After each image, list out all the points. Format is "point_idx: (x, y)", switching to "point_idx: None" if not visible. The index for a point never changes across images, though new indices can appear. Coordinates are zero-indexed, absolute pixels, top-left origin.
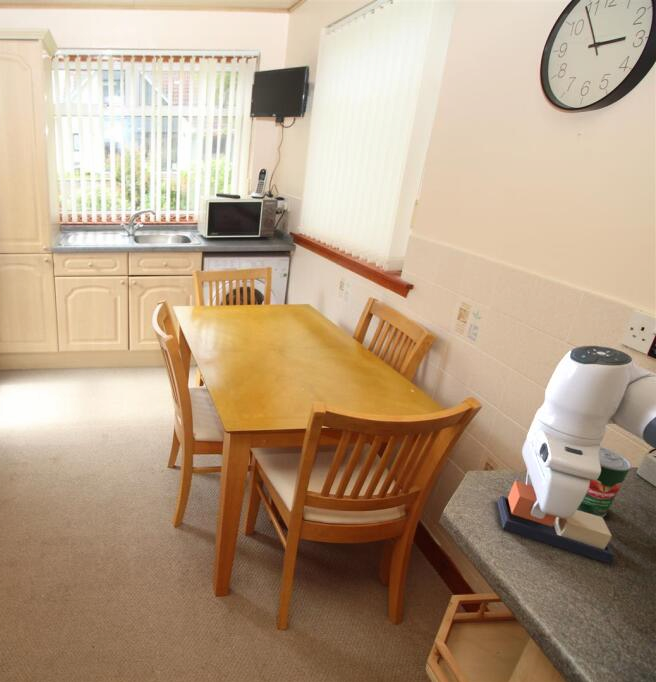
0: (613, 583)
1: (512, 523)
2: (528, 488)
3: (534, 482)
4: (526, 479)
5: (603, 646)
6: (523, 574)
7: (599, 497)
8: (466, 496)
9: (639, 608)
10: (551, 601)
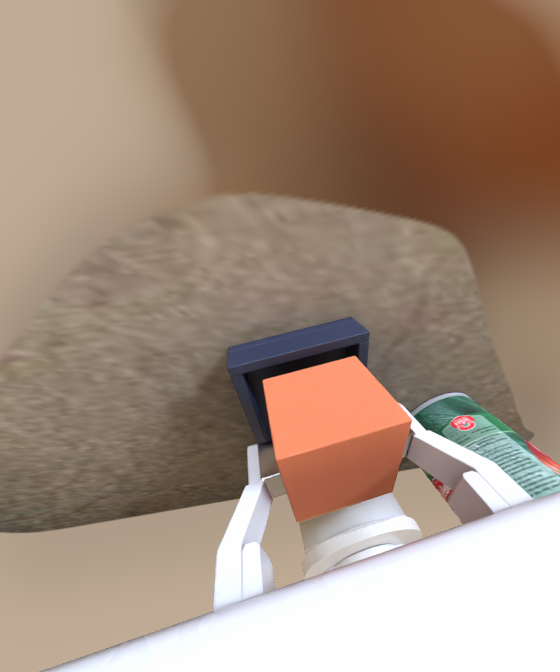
0: (223, 481)
1: (232, 378)
2: (371, 458)
3: (304, 670)
4: (440, 439)
5: (10, 509)
6: (63, 411)
7: (434, 483)
8: (338, 226)
9: (189, 502)
10: (32, 456)
